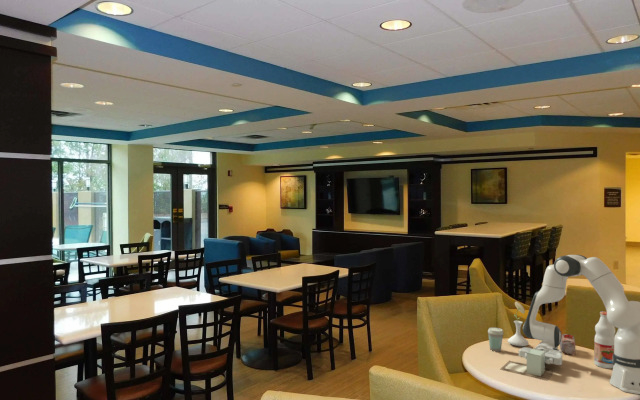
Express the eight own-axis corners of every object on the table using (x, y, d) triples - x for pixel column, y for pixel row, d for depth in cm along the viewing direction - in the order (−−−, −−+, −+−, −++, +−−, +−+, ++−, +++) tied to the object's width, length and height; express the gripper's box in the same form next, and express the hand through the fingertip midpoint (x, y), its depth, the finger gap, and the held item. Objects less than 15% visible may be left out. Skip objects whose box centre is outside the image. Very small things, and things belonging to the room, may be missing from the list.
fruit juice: (603, 361, 247) (604, 309, 246) (619, 367, 238) (620, 313, 237) (589, 363, 244) (590, 310, 244) (605, 369, 235) (606, 315, 235)
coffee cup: (500, 353, 257) (501, 332, 257) (485, 350, 262) (485, 329, 262) (505, 349, 264) (505, 329, 264) (490, 346, 269) (490, 326, 269)
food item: (576, 356, 254) (576, 338, 254) (560, 354, 258) (560, 336, 257) (574, 349, 266) (574, 332, 266) (559, 347, 270) (559, 330, 270)
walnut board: (554, 372, 230) (554, 370, 230) (547, 382, 218) (547, 380, 218) (509, 362, 244) (509, 360, 244) (499, 371, 231) (499, 369, 231)
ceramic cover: (544, 371, 230) (545, 351, 230) (540, 376, 223) (540, 355, 223) (531, 368, 234) (531, 348, 234) (526, 373, 227) (526, 352, 227)
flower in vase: (530, 348, 266) (531, 305, 266) (509, 347, 268) (510, 304, 268) (525, 341, 279) (525, 300, 279) (505, 340, 281) (506, 299, 281)
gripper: (522, 342, 247) (515, 349, 236) (565, 351, 234) (559, 358, 223) (522, 354, 247) (514, 361, 236) (564, 363, 234) (558, 371, 223)
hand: (536, 360), depth 230 cm, fingers open, 8 cm apart
